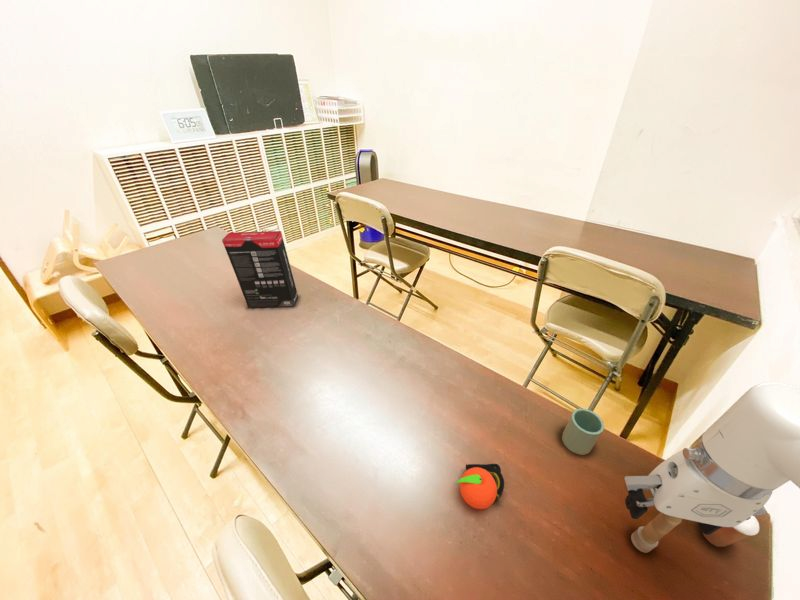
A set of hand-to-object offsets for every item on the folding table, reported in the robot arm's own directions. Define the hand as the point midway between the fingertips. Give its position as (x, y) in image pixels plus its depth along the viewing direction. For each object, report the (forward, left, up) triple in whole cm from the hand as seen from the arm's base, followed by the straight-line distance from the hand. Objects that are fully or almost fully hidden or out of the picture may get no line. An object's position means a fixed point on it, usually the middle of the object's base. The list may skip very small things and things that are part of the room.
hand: (664, 515), depth 51 cm
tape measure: (+20, +18, -11) cm, 29 cm away
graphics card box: (+105, +44, -11) cm, 115 cm away
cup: (+17, -6, -11) cm, 21 cm away
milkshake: (-6, -12, -11) cm, 17 cm away
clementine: (+19, +21, -11) cm, 31 cm away
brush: (-1, 0, -11) cm, 11 cm away
